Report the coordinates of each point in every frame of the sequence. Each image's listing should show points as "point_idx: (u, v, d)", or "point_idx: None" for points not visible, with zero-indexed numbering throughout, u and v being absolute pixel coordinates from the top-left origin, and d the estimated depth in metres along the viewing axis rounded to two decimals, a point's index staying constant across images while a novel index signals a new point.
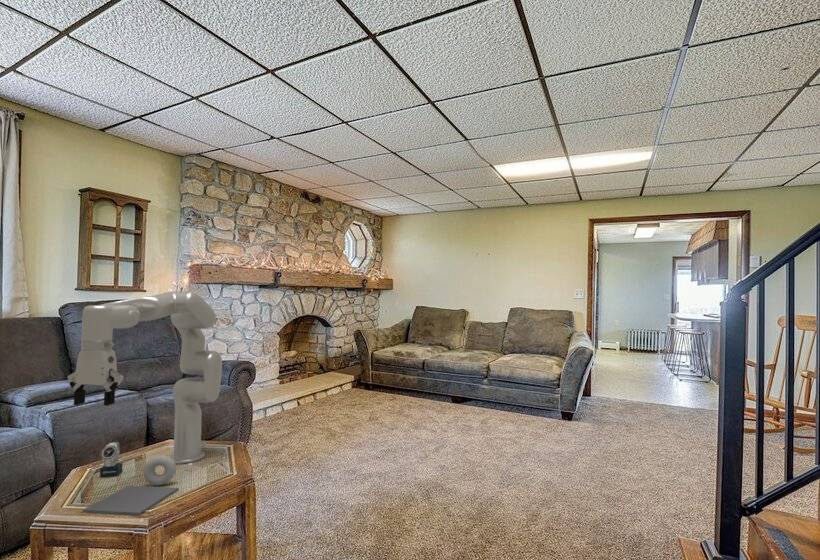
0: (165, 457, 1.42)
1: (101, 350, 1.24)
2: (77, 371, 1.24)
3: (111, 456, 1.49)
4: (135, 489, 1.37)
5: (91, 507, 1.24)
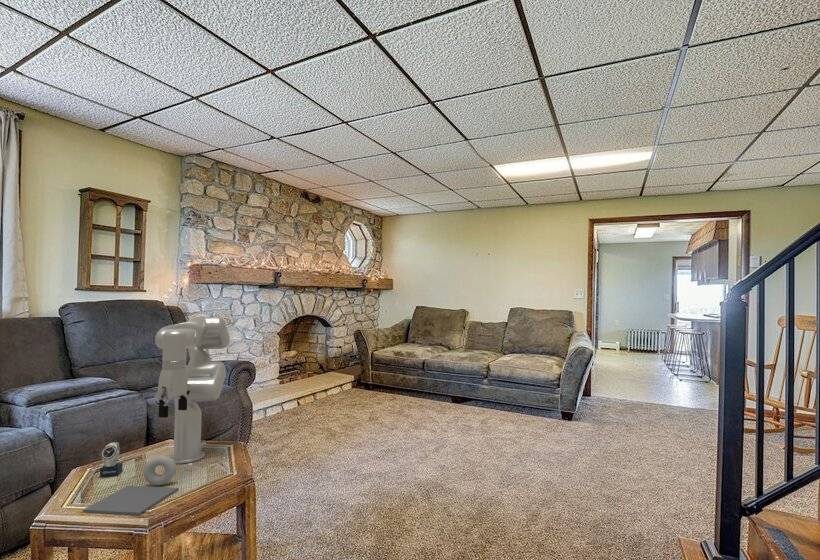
0: (165, 457, 1.42)
1: None
2: (172, 387, 1.46)
3: (111, 456, 1.49)
4: (135, 489, 1.37)
5: (91, 507, 1.24)
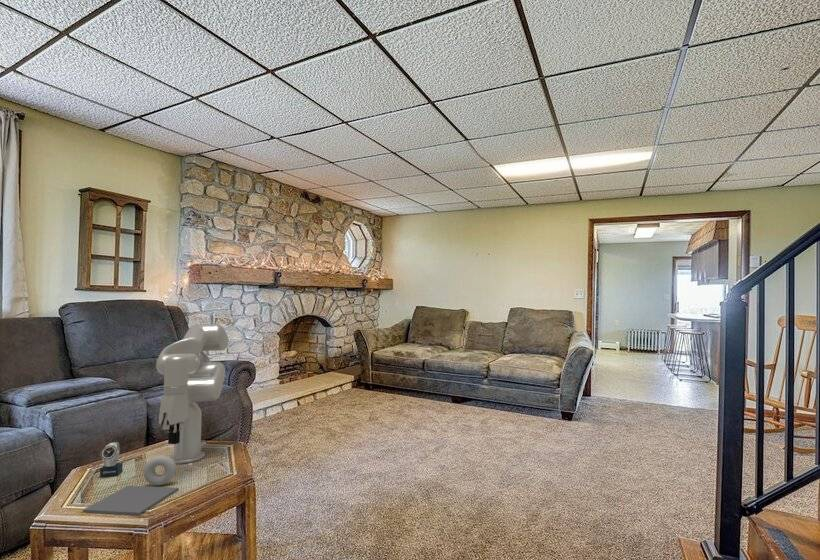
0: (165, 457, 1.42)
1: None
2: (173, 413, 1.46)
3: (111, 456, 1.49)
4: (135, 489, 1.37)
5: (91, 507, 1.24)
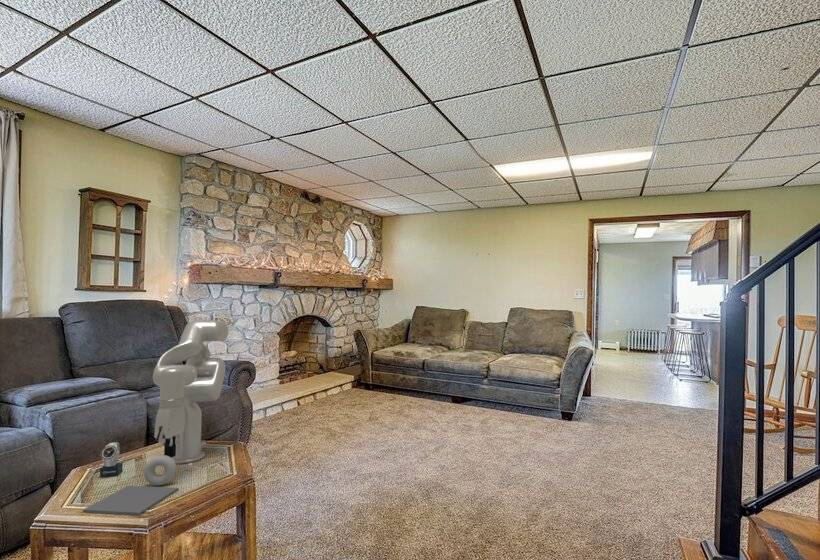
0: (165, 457, 1.42)
1: None
2: (169, 426, 1.44)
3: (111, 456, 1.49)
4: (135, 489, 1.37)
5: (91, 507, 1.24)
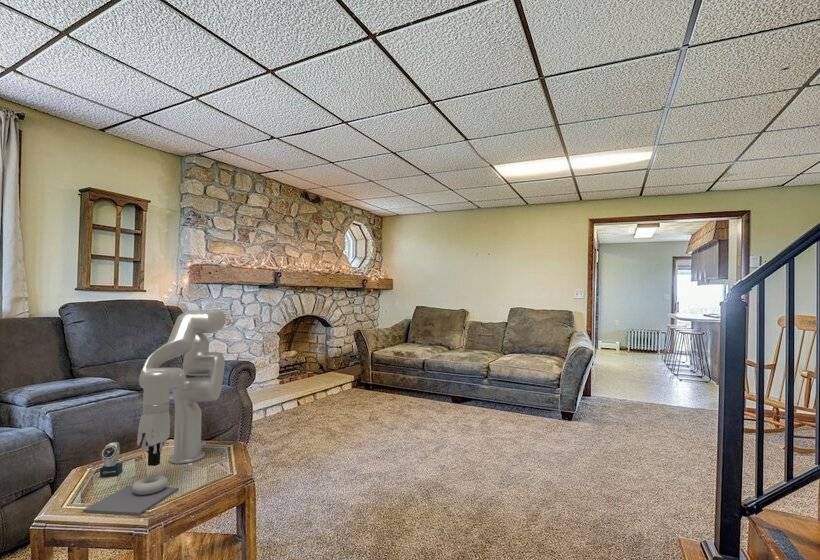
0: (148, 492, 1.32)
1: None
2: (153, 433, 1.36)
3: (111, 456, 1.49)
4: None
5: (91, 507, 1.24)
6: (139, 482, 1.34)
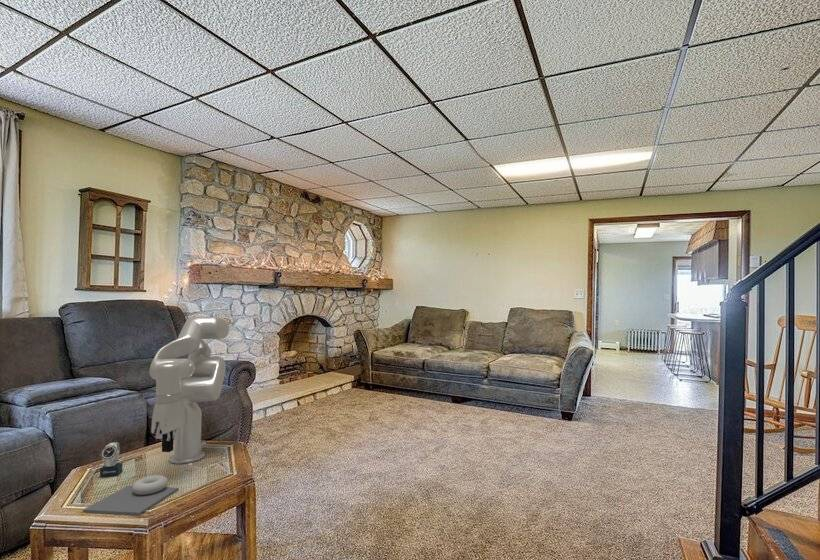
0: (148, 492, 1.32)
1: None
2: (166, 422, 1.43)
3: (111, 456, 1.49)
4: None
5: (91, 507, 1.24)
6: (139, 482, 1.34)
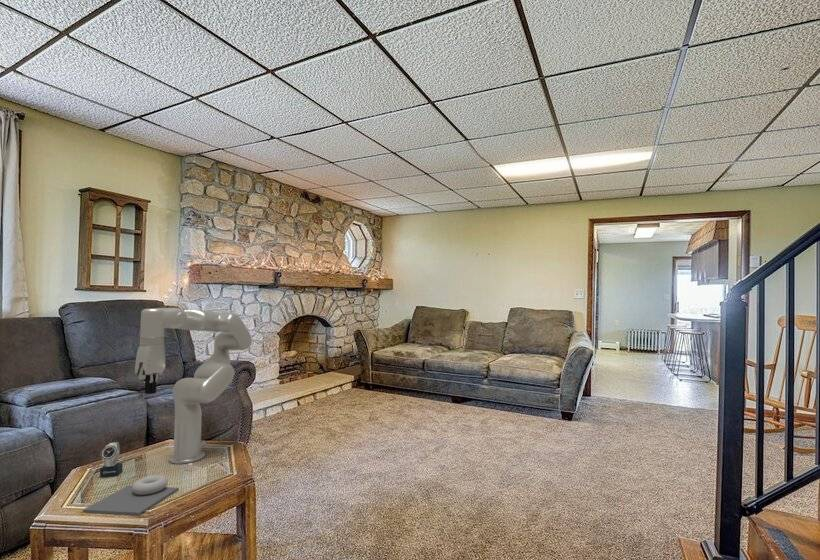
0: (148, 492, 1.32)
1: None
2: (149, 363, 1.48)
3: (111, 456, 1.49)
4: None
5: (91, 507, 1.24)
6: (139, 482, 1.34)
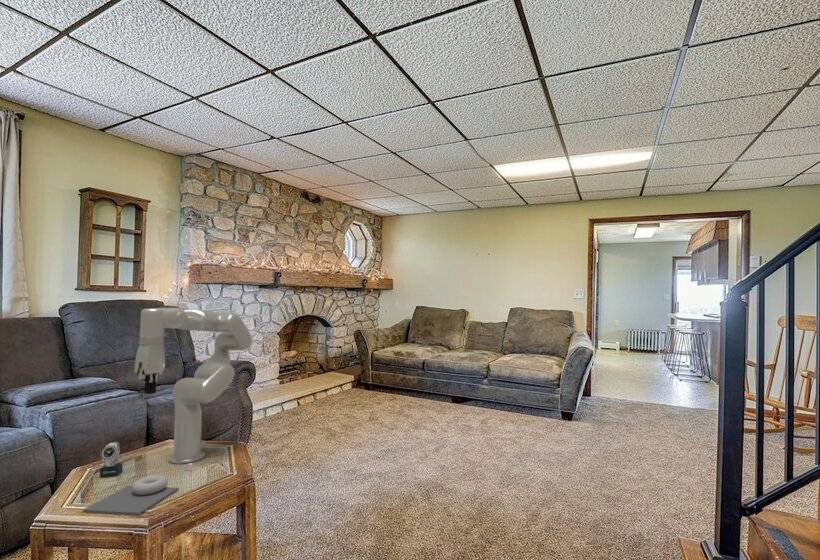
0: (148, 492, 1.32)
1: None
2: (149, 363, 1.48)
3: (111, 456, 1.49)
4: None
5: (91, 507, 1.24)
6: (139, 482, 1.34)
